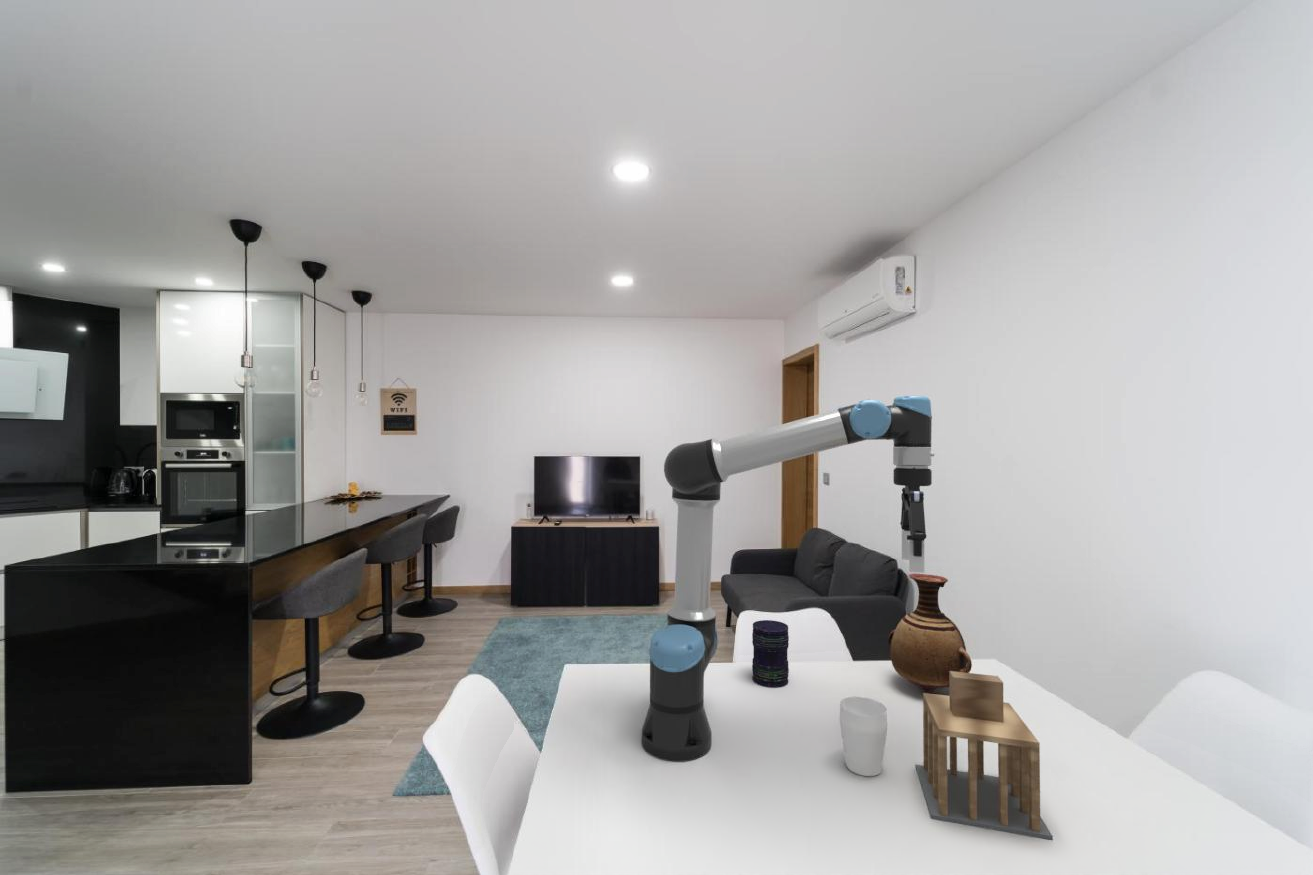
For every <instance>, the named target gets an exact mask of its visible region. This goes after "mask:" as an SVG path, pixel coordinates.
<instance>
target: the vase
mask: <svg viewBox="0 0 1313 875" xmlns="http://www.w3.org/2000/svg"><path fill="white" fill-rule="evenodd" d="M908 577H909V578H910V579H912V580H913V581H914V582H915V583H916V585H917V588H918V600H917V606H916V608H915V610H914V611H911V612H909V613H907V614H906V615H905V616H903V617H902V618H901V619H900V621H899V623H897V626H896V627H895V629H893V630H892V631H891V632H890V633H889V635H888V636H887V641H888V646H889V647H890V661H891V664H892V667H893V669H894V670H895V672H896V673H897V674H898V675H899V676H900V677H901V678H903V679H904V680H906V681H908V682H910V683H912V684H913V685H915V686H917V687H919V688H920V689H922V690H923V691H924V692H926V693H928V692H932V691H934V690H938V689H944V688H949V671H955V672H964V673H971V670H972V667H973V664H972V660H971V657H970V655H969V653H968V652H967V647H966V644H965V643H966V642H965V640H964V638H963V635H962V633H961V631H960V630H959V627H958V626H957V625H956V624H955V623H954V622H953V620H952V619H950V618H949V617H948V616H946V615H945V613H943V612H942V611H941V609H940V606H939V591H940V588H944V587H945V585H946V583H947V582H948V581H949V580H948V578H946V577H944V576H941V575H934V574H926V573H910V574H908Z"/></svg>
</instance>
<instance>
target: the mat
mask: <svg viewBox="0 0 1313 875" xmlns="http://www.w3.org/2000/svg"><path fill="white" fill-rule="evenodd" d="M914 767H915V771H916V773H917V777H918V780H919V784H920V786H921V791H922V793H923V796H924V800H925V803H926V806H927V809H928V813H929V817H930V819H932V820H938V821H944V822H949V823H956V824H959V825H967V826H970V827H971V826H973V827H978V828H982V829H988V830H989V829H990V830H995V831H1000V832H1005V833H1011V834H1012V833H1013V834H1017V835H1021V836H1028V837H1029V836H1030V837H1033V838H1039V839H1043V840H1044V839H1045V840H1052V841H1053V835H1052V833H1051V831H1050V830H1049V828H1048V826H1047V825H1046V823H1045V821H1044V820H1043V818H1042V816H1041V815H1040V832H1037V831H1032V830H1031V828H1030V826H1029V814H1027V813H1022V812H1021V810H1020V798H1017V797H1013V796H1012V794H1011V783H1008V826H1002V825H1001V824H1000V822H999V783H998V776H994V775H988V774H987V775H986V774H984V779H979V778H977V821H973V820H970V818H969V816H968V771H962V770H957V775H953V774H951V772H950V768H947V816H944V815H940V814H939V811H938V799H936V798H934V796H933V784H929V781H928V771H927V770H924V764H917V763H916V764H915V766H914Z"/></svg>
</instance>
